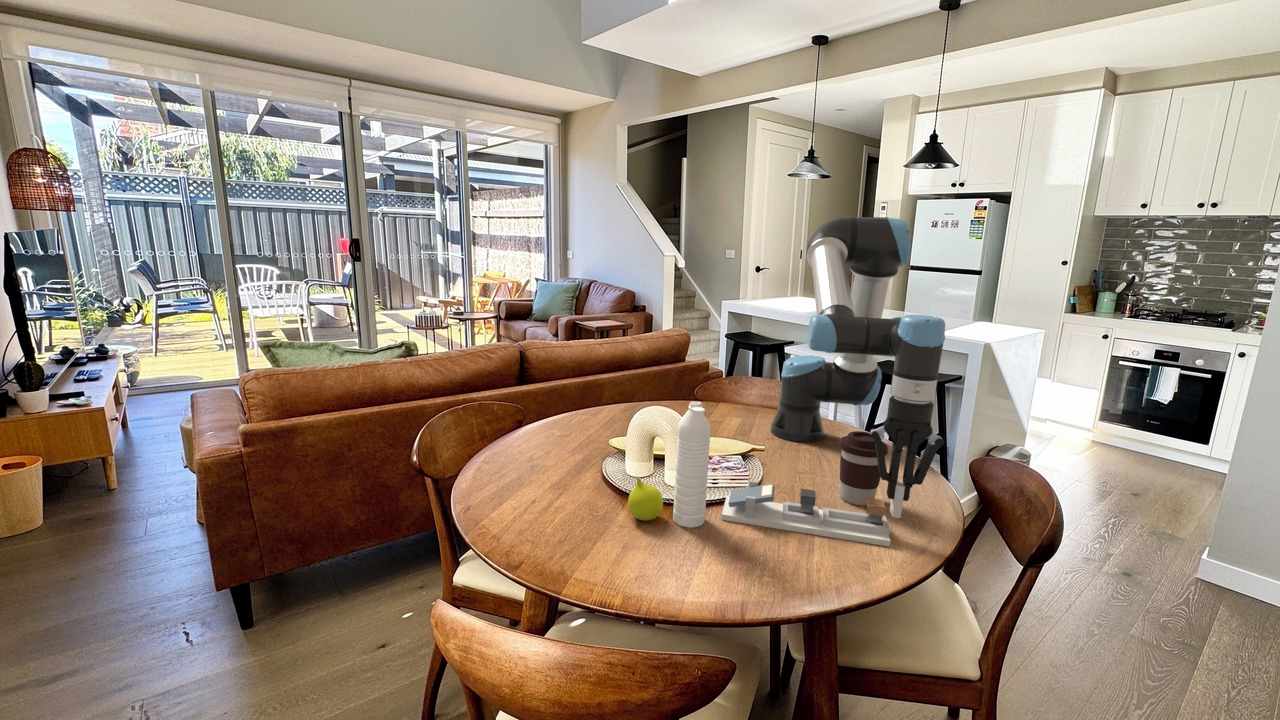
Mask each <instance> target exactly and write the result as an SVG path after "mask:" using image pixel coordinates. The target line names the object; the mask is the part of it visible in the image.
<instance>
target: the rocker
mask: <svg viewBox="0 0 1280 720" xmlns="http://www.w3.org/2000/svg"><path fill="white" fill-rule="evenodd" d="M729 496H730V499H729V507H736V506H743V505H746V496H751V497H756V498H755V504H757V503H764V502H774V500H775V499H774V498H775V485H774V483H767V484H762V485H758V486H754V487H749V486H748V487H743V488H735V489H731V491H730V495H729Z"/></svg>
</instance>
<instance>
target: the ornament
mask: <svg viewBox="0 0 1280 720" xmlns="http://www.w3.org/2000/svg"><path fill="white" fill-rule="evenodd" d="M635 473H636V471H635ZM635 475H636V477H635V479H636V485H635V486H634V487H633V489H632V491H630V494H629V496H628V498H627V499H628V500H627V505H628V509H629V511H630V513H631V515H632V516H634V517H635V519H637V520H640V521H644V522H645V521H646V522H647V521H651V520H654V519H656V518H657V517H658V516H659V515H660V514H661V512H662V510H663V507H664V499H663V498H664V497H663V495H662V493H661V492H660V490H659V489H658V488H657V487H656V486H653V485H651V484H647V483H644V482H642V480H641V479H640V476H639V475H637V473H636V474H635Z"/></svg>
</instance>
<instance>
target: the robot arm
mask: <svg viewBox="0 0 1280 720" xmlns="http://www.w3.org/2000/svg"><path fill="white" fill-rule="evenodd" d="M909 227H910V226H909V224H908V223H907V221H906V220H905V219H902V218H894V217H888V216H884V217H883V216H881V217H877V216H876V217H875V216H873V217H869V216H867V217H866V216H865V217H864V216H862V217H861V216H859V217H858V216H839V217H836V218H833V219H831V220H828V221H826V222H824V223H823V224H822V225H820V226H819V227H818V228H817V229H816V230H815V231H814V232H813V234H812V235H811V236H810V238H809V240H808V243H807V246H806V261H807V263H808V265H809V266H810V267H811V270H812V279H813V291H814V299H815V307H816V308H815V309H816V314H814V315H812V316H811V317H810V318H809V322H808V323H809V324H808V329H807V330H808V331H807V344H808V345H807V346H808V347H809V349H810V350H812V351H814V352H815V351H818V352H824V353H828V354H835V356H834V357H833V362H827V361H826V360H825V358H824V357H823V356H820V355H799V356H797V355H796V356H792V357H789V358H788V359H786V360H785V361H783V363H782V364H783V366H782V371H781V384H780V385H781V386H780V393H779V405H778V408H777V410H776V412H775V415H774V417H773V419H772V422H771V425H770V432H771V433H772V435H774V436H776V437H778V438H781V439H784V440H788V441H792V442H800V443H811V442H817V441H818V442H819V441H820V440H822V439H824V431H825V430H824V425H823V420H822V416H821V403H830V404H831V403H832V404H833V403H834V404H842V405H844V404H845V405H853V406H868V405H870V404H872V403H874V402H875V400H877V399H876V398H877V397H878V395H879V392H880V390H881V384H882V383H881V382H882V377H883V376H882V375H883V374H882V370H881V368H880V366H878V362H877V360H876V359H875V358H874V356H880V357H881V356H883V357H895V358H894V366H893V373H892V377H891V378H892V379H891V387H890V394H891V396H890V397H889V400H888V407H887V414H886V415H887V416H886V419H885V420H884V421H883V423H882V425H881V426H879V427H877V428H874V427H871V428H870V430H869V433H871V435H872V437H873V439H874V441H875V447H876V454H877V462H878V469H879V474H880V480H882V481H885V482H887V486H886V487H887V489H886V495H887V498H888V500H890V506H889V512H890V515H891V518H897V519H901V518H902V517H901V515H902V509H903V502H908V501H909V499H910V494H911V489H912V488H913V485H918V486H919V485H922V484H923V483H924V480H925V477H926V476H927V473H928V472H929V469H930V466H931V464H932V463H933V460H934V459H935V456H936V454H937V452H938V450H940V449H941V448H942V447H943V446H944V445H945V441H944V439H943V438H942V437H941V435H940V434H939V435H937V434H936V433H935V432H934V430H933V427H932V418H933V412H934V406H935V405H934V403H933V401H934V400H935V398H936V391H937V384H938V378H939V372H940V366H941V358H942V353H943V347H944V343H945V340H946V336H945V331H946V322H945V320H944V319H943V318H941V317H938V316H932V315H927V314H925V315H924V314H923V315H922V314H906V315H903V316H902V317H900V316H897V317H896V316H895V317H892V318H884V317H883V312H884V307H885V302H886V299H887V294H888V289H889V284H890V280H891V279H893V278H894V277H896V276H897V275H898V274H899V273H898V272H899V270H900V269H899V267H901V268H903V267H905V266H907V265H908V263H909V261H910V258H911V250H912V249H911V244H912V241H911V239H912V237H911V233H910V228H909ZM847 264H848V265H849V270H850V271H851V273H852V274H853V275H854V277H853V282H852V289H851V287H850V281H849V277H848V271H847ZM882 317H883V318H882ZM885 433H886V434H887V436H888V437H889V439H890V441H891V442H892V448H891V457H890V463H889V470H888V469H887V464H886V456H885V454H884V447H883V440H884V439H885ZM926 440H927V444H926V446H925V449H924V451H923V453H922V455H921V457H920V460H919V461H918V462H919V463H918V464H917V467H916V469H915V464H916V457H917V454H918V450H919V446H920V445H922V444H924V442H925V441H926ZM904 447H906V453H905V459H904V466H903V473H902V480H899V479H898V478H899V472H900V465H901V458H902V452H903V448H904ZM887 470H888V471H887Z"/></svg>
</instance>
